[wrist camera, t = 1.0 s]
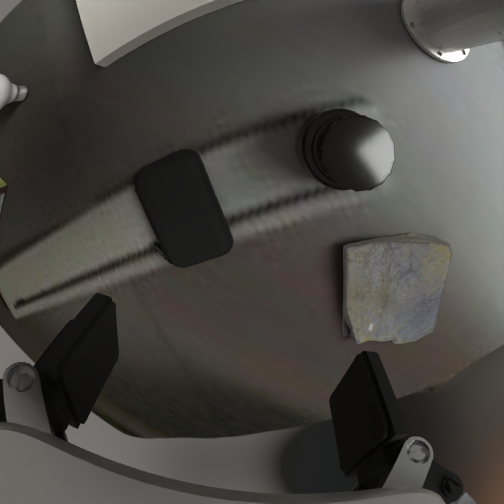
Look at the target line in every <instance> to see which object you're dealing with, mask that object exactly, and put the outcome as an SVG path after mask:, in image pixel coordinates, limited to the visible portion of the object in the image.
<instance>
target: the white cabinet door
mask: <svg viewBox="0 0 504 504" xmlns="http://www.w3.org/2000/svg"><path fill="white" fill-rule="evenodd" d="M242 1H245V0H76V3H77V7H78V11H79V14H80V18H81V21H82V25H83V28H84V32H85V35H86V38H87V41H88V45H89V48H90V51H91V54H92V57H93V60H94V63H95V64H97V65H100V66H103V67H107V66H109V65H110V64H112V63H113V62H115V61H116V60H118V59H119V58H121V57H122V56H124V55H126V54H127V53H129V52H131V51H132V50H134V49H136V48H137V47H139V46H141V45H143V44H144V43H146V42H148V41H150V40H152V39H154V38H156V37H157V36H159V35H161V34H163V33H165V32H167V31H169V30H171V29H173V28H175V27H178V26H180V25H182V24H184V23H186V22H189V21H191V20H193V19H196V18H198V17H200V16H203V15H205V14H208V13H210V12H213V11H216V10H218V9H221V8H224V7H227V6H229V5H232V4H235V3H238V2H242Z"/></svg>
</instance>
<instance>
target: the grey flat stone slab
mask: <svg viewBox="0 0 504 504" xmlns="http://www.w3.org/2000/svg"><path fill="white" fill-rule="evenodd" d="M451 256H452V253H451V245H450V243H447V242H444V241H439V240H436V239H434V238H430V237H425V236H422V235H415V234H413V233H408V234H402V235H397V236H390V237H376V238H373V239H369V240H362V241H358V242H353V243H348V244H346V245H344V246H343V323H342V333H343V335H344V336H351V338H352V339H353V340H354V341H355V343H356V344H360V343H362V342H364V341H370V340H375V341H384V342H385V341H389V340H392V341H393V343H399V344H401V343H408V342H412V341H416V340H418V339H420V338H422V337H423V336H425V335H427V334H429V333H432V332H433V331H434V328H435V323H436V319H437V314H438V311H439V307H440V302H441V297H442V293H443V289H444V286H445V282H446V277H447V274H448V270H449V265H450V261H451Z"/></svg>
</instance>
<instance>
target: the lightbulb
mask: <svg viewBox="0 0 504 504" xmlns="http://www.w3.org/2000/svg"><path fill="white" fill-rule="evenodd" d="M26 95H27V87H26V86H16V85H15V84H13V83H11V82H10V81H9V79H8V78H7V77H6V76H5V75H3V74H0V109H2V108H3V107H4V106H5V105H6V104H8V103H11V102H13V101H23V100H24V99H25V97H26Z"/></svg>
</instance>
